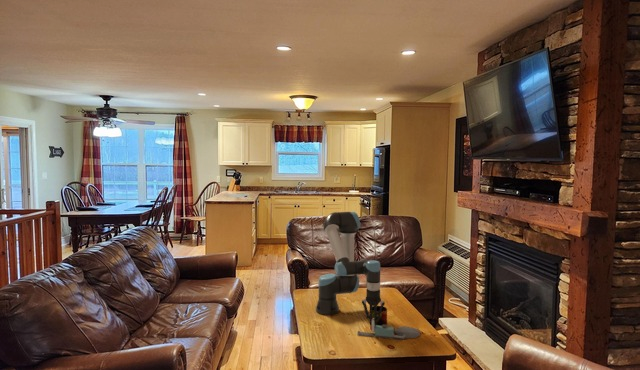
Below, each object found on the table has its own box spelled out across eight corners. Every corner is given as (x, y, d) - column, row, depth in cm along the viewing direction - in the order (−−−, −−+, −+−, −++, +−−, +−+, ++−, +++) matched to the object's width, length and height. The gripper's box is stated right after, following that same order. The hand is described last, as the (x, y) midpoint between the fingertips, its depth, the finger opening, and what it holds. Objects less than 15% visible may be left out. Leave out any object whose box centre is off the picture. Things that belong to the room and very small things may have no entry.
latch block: (375, 332, 211) (375, 323, 211) (393, 333, 209) (393, 324, 209) (374, 335, 207) (374, 326, 207) (393, 337, 205) (393, 327, 205)
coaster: (394, 326, 222) (394, 325, 222) (419, 329, 219) (419, 327, 219) (394, 337, 208) (394, 335, 208) (420, 339, 205) (420, 338, 205)
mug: (381, 322, 228) (381, 302, 228) (389, 332, 215) (389, 311, 214) (366, 323, 227) (366, 303, 226) (373, 333, 213) (373, 312, 213)
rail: (358, 333, 213) (358, 330, 213) (405, 338, 207) (405, 335, 207) (357, 335, 210) (357, 332, 210) (405, 339, 205) (405, 337, 205)
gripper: (360, 290, 206) (360, 332, 207) (384, 291, 204) (384, 334, 205) (362, 286, 214) (362, 327, 215) (385, 287, 211) (385, 329, 212)
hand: (373, 330), depth 210 cm, fingers closed
